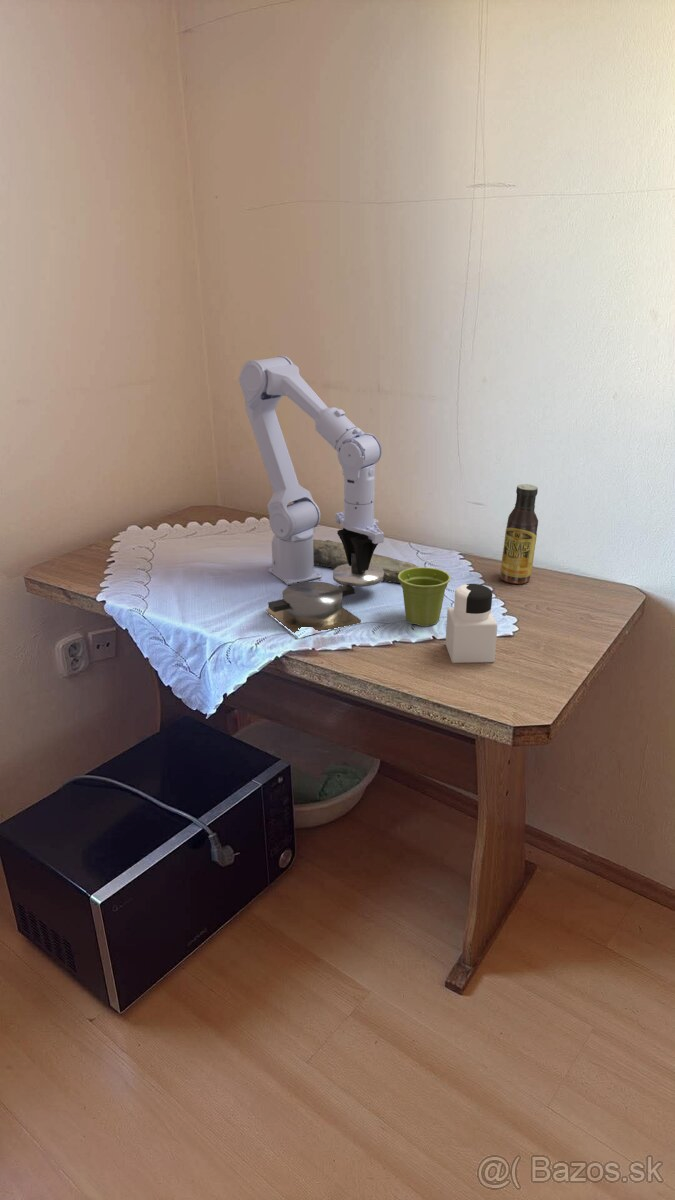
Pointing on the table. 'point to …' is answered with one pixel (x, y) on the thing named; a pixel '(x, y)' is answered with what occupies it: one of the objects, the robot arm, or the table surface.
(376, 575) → the lid
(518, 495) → the sauce bottle
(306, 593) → the pot
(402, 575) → the plant pot
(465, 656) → the medicine bottle
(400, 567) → the long grey stone
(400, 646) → the table surface
